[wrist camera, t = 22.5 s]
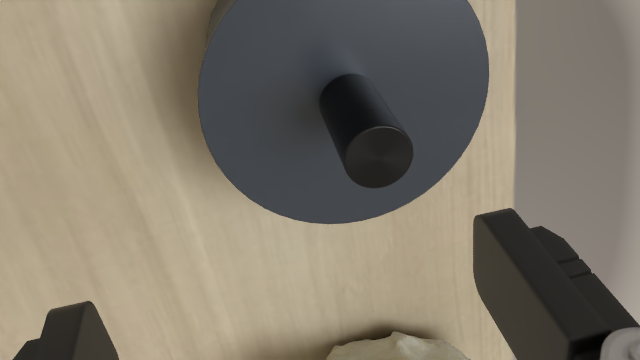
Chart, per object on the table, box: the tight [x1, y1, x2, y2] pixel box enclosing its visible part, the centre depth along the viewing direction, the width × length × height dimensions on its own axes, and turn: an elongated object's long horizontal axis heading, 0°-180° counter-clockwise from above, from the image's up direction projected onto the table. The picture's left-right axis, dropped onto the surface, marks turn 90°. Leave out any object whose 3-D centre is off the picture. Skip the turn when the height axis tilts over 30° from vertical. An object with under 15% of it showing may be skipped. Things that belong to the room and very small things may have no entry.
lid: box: [198, 0, 489, 224], centre depth 27 cm, size 15×15×7 cm
